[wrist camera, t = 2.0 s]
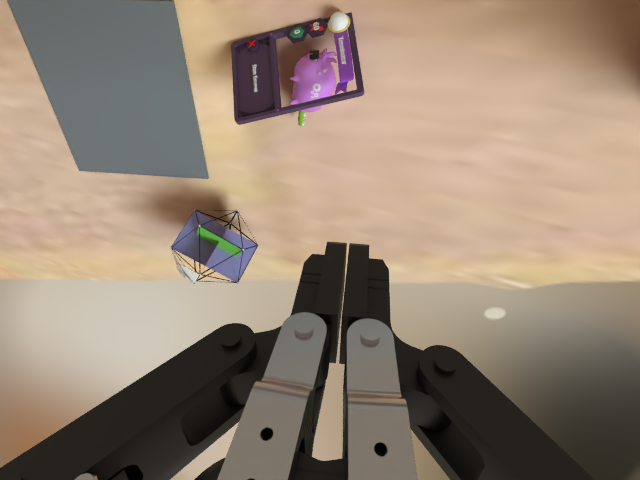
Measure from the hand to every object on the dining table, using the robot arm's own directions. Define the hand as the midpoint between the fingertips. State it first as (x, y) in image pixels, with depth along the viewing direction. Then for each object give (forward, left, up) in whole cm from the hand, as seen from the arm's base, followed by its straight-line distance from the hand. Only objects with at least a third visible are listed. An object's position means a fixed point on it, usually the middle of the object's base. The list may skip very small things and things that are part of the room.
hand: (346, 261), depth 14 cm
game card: (+9, -1, -17) cm, 20 cm away
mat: (+21, 0, -19) cm, 28 cm away
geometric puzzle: (+13, +12, -19) cm, 26 cm away
